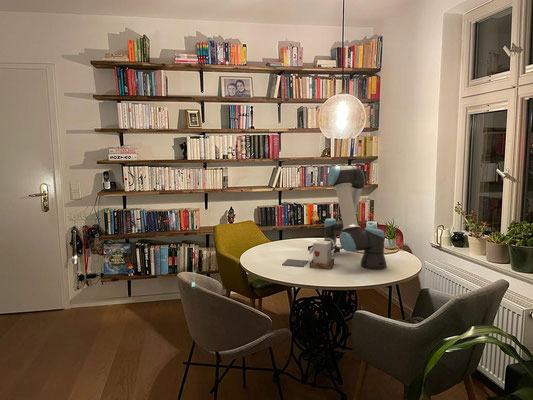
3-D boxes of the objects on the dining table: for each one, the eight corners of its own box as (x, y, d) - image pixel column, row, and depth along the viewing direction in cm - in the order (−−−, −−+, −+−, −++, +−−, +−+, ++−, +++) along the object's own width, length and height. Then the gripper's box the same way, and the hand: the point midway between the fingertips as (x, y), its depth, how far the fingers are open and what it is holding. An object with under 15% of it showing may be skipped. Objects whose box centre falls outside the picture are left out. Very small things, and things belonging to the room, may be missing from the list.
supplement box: (312, 266, 230) (312, 242, 228) (317, 262, 238) (317, 239, 236) (326, 268, 225) (327, 244, 224) (331, 264, 233) (331, 241, 232)
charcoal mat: (308, 261, 241) (308, 260, 241) (303, 267, 229) (303, 266, 229) (287, 259, 245) (287, 258, 245) (281, 265, 233) (281, 264, 233)
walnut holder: (334, 263, 235) (334, 258, 235) (330, 269, 223) (331, 264, 223) (314, 261, 240) (314, 257, 239) (309, 267, 228) (309, 262, 227)
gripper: (346, 251, 244) (341, 260, 224) (308, 248, 252) (301, 257, 232) (346, 240, 243) (342, 247, 223) (308, 238, 251) (301, 245, 232)
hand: (321, 252), depth 228 cm, fingers open, 13 cm apart
